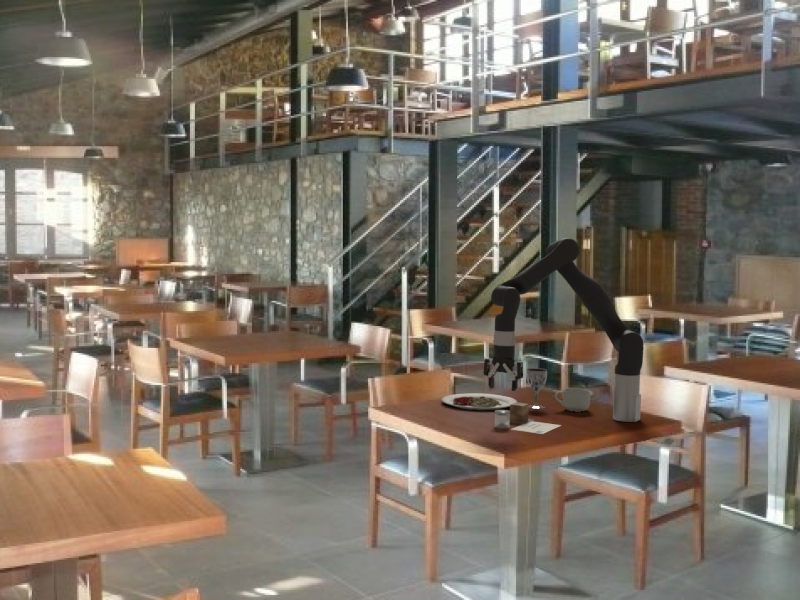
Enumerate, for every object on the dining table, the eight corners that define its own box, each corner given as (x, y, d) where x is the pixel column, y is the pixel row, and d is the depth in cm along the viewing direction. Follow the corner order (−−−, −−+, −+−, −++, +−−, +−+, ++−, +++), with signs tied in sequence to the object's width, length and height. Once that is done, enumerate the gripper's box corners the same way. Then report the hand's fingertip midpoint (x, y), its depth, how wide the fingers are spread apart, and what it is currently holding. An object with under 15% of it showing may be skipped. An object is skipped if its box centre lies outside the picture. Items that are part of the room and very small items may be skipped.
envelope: (561, 426, 325) (561, 425, 325) (542, 435, 311) (542, 433, 311) (530, 422, 331) (530, 421, 331) (510, 430, 317) (510, 429, 317)
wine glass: (547, 409, 356) (548, 371, 355) (526, 408, 356) (528, 370, 355) (544, 405, 364) (545, 368, 363) (524, 405, 364) (525, 367, 363)
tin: (512, 428, 321) (512, 411, 321) (505, 430, 317) (506, 413, 316) (498, 426, 324) (498, 409, 324) (491, 428, 320) (492, 411, 319)
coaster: (535, 420, 334) (535, 419, 334) (524, 425, 326) (525, 424, 326) (512, 417, 338) (512, 416, 338) (502, 422, 331) (502, 420, 331)
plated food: (532, 408, 359) (532, 399, 358) (469, 415, 344) (469, 406, 344) (488, 395, 385) (488, 387, 384) (427, 401, 370) (427, 393, 370)
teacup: (588, 408, 360) (589, 388, 359) (591, 413, 349) (592, 393, 348) (553, 407, 361) (553, 387, 360) (555, 412, 350) (555, 391, 350)
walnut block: (528, 420, 333) (528, 403, 332) (522, 422, 329) (522, 406, 328) (515, 418, 336) (516, 402, 335) (509, 420, 331) (510, 404, 331)
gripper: (527, 344, 318) (525, 390, 319) (490, 340, 325) (489, 385, 326) (518, 346, 311) (516, 393, 312) (481, 342, 319) (479, 388, 320)
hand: (502, 389), depth 319 cm, fingers open, 8 cm apart
